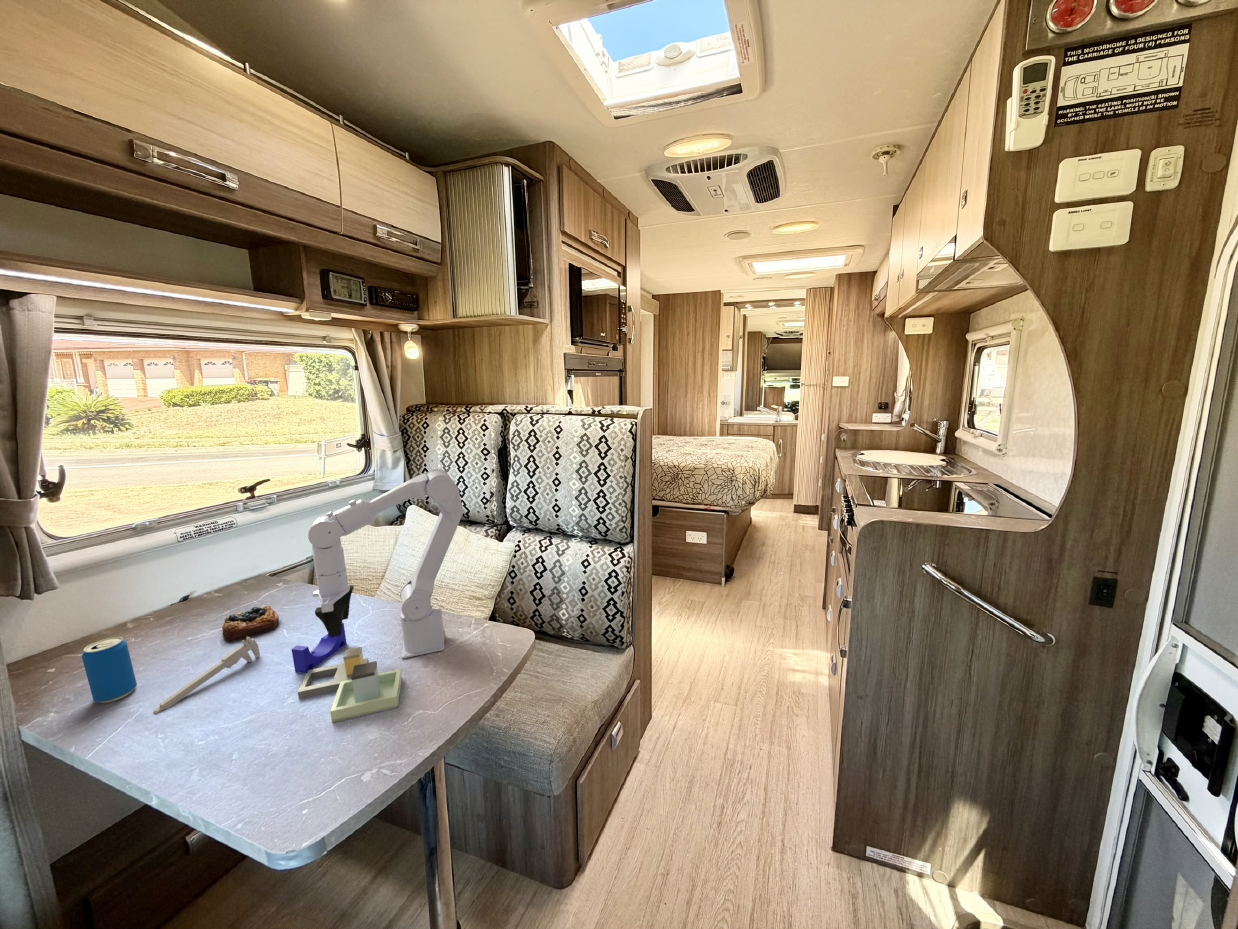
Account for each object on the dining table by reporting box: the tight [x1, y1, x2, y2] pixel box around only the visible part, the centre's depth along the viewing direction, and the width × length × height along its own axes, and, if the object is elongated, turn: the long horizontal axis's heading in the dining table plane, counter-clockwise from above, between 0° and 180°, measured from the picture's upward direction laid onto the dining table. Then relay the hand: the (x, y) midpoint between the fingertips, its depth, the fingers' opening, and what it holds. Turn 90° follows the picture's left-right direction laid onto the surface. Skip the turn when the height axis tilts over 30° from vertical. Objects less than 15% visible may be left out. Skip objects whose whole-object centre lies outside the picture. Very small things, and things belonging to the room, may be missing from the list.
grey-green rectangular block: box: [351, 661, 380, 703], centre depth 96 cm, size 4×4×7 cm
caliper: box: [152, 637, 261, 715], centre depth 104 cm, size 20×1×6 cm, turn 162°
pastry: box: [221, 605, 280, 643], centre depth 126 cm, size 11×12×6 cm
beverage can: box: [81, 636, 138, 704], centre depth 100 cm, size 6×6×12 cm
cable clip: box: [290, 622, 348, 675], centre depth 112 cm, size 12×4×6 cm, turn 168°
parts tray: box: [329, 668, 403, 724], centre depth 97 cm, size 12×10×2 cm
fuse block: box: [297, 646, 369, 699], centre depth 103 cm, size 12×8×6 cm, turn 110°
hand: (339, 627), depth 107 cm, fingers open, 7 cm apart
